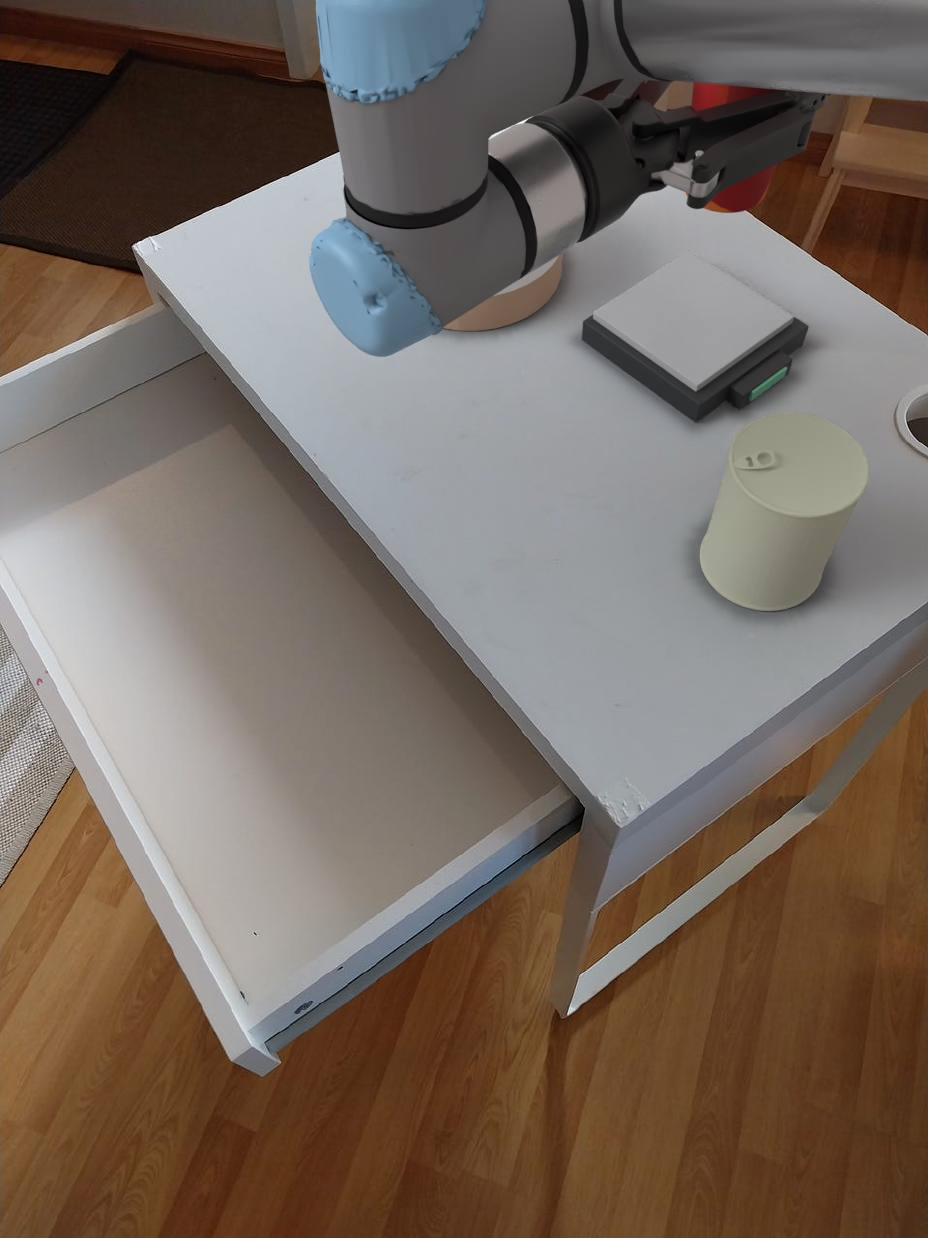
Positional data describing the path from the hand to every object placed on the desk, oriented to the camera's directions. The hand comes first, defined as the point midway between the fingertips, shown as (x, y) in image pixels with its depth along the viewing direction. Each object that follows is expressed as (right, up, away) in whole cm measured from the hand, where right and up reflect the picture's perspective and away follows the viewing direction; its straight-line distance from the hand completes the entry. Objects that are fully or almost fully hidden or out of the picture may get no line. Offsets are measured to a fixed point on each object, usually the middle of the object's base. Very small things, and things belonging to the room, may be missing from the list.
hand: (797, 41), depth 63 cm
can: (0, -35, +9) cm, 36 cm away
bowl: (-22, -5, +28) cm, 36 cm away
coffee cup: (-3, -7, +6) cm, 10 cm away
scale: (-2, -14, +22) cm, 26 cm away
